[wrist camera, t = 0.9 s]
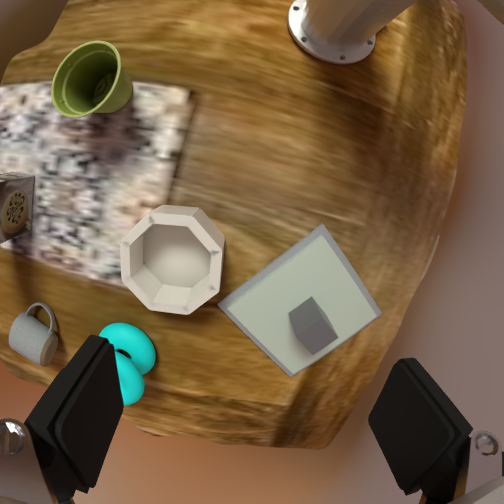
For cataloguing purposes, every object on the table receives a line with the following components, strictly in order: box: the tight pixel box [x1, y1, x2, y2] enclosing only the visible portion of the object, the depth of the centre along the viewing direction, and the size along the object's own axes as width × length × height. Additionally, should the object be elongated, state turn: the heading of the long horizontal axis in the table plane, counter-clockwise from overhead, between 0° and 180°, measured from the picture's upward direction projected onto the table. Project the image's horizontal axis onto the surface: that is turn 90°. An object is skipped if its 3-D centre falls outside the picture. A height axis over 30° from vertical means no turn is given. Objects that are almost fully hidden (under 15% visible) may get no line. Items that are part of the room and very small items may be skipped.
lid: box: [227, 235, 376, 374], centre depth 37 cm, size 16×16×7 cm
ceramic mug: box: [9, 302, 58, 366], centre depth 37 cm, size 11×8×8 cm
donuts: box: [99, 323, 156, 405], centre depth 37 cm, size 10×10×10 cm
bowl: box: [120, 205, 225, 315], centre depth 34 cm, size 12×12×6 cm
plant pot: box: [51, 41, 133, 118], centre depth 26 cm, size 9×9×9 cm
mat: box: [217, 224, 382, 377], centre depth 40 cm, size 18×18×1 cm
